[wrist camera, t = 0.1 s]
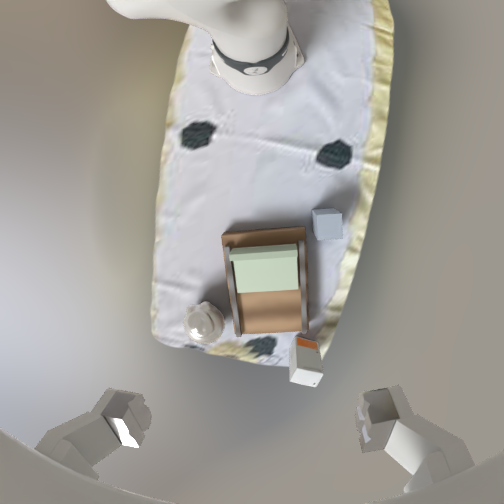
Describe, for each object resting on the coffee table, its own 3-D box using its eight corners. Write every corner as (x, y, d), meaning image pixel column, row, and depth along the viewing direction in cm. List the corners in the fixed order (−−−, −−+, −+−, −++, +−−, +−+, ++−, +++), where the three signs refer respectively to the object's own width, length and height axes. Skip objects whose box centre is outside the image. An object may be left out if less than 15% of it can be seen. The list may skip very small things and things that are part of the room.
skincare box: (318, 341, 62) (325, 373, 51) (311, 354, 63) (316, 388, 52) (294, 334, 62) (296, 367, 51) (288, 348, 63) (289, 382, 52)
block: (311, 209, 54) (316, 214, 47) (334, 208, 53) (341, 213, 47) (313, 231, 55) (317, 240, 48) (334, 230, 55) (342, 238, 48)
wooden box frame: (224, 232, 57) (220, 237, 53) (304, 226, 55) (306, 230, 51) (236, 327, 63) (234, 337, 59) (307, 323, 61) (309, 333, 57)
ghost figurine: (234, 304, 61) (227, 328, 51) (219, 335, 64) (210, 361, 54) (197, 287, 61) (183, 308, 51) (184, 319, 63) (170, 343, 54)
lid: (232, 248, 54) (229, 254, 50) (295, 243, 52) (297, 249, 48) (238, 291, 56) (235, 300, 52) (298, 287, 55) (299, 297, 51)
